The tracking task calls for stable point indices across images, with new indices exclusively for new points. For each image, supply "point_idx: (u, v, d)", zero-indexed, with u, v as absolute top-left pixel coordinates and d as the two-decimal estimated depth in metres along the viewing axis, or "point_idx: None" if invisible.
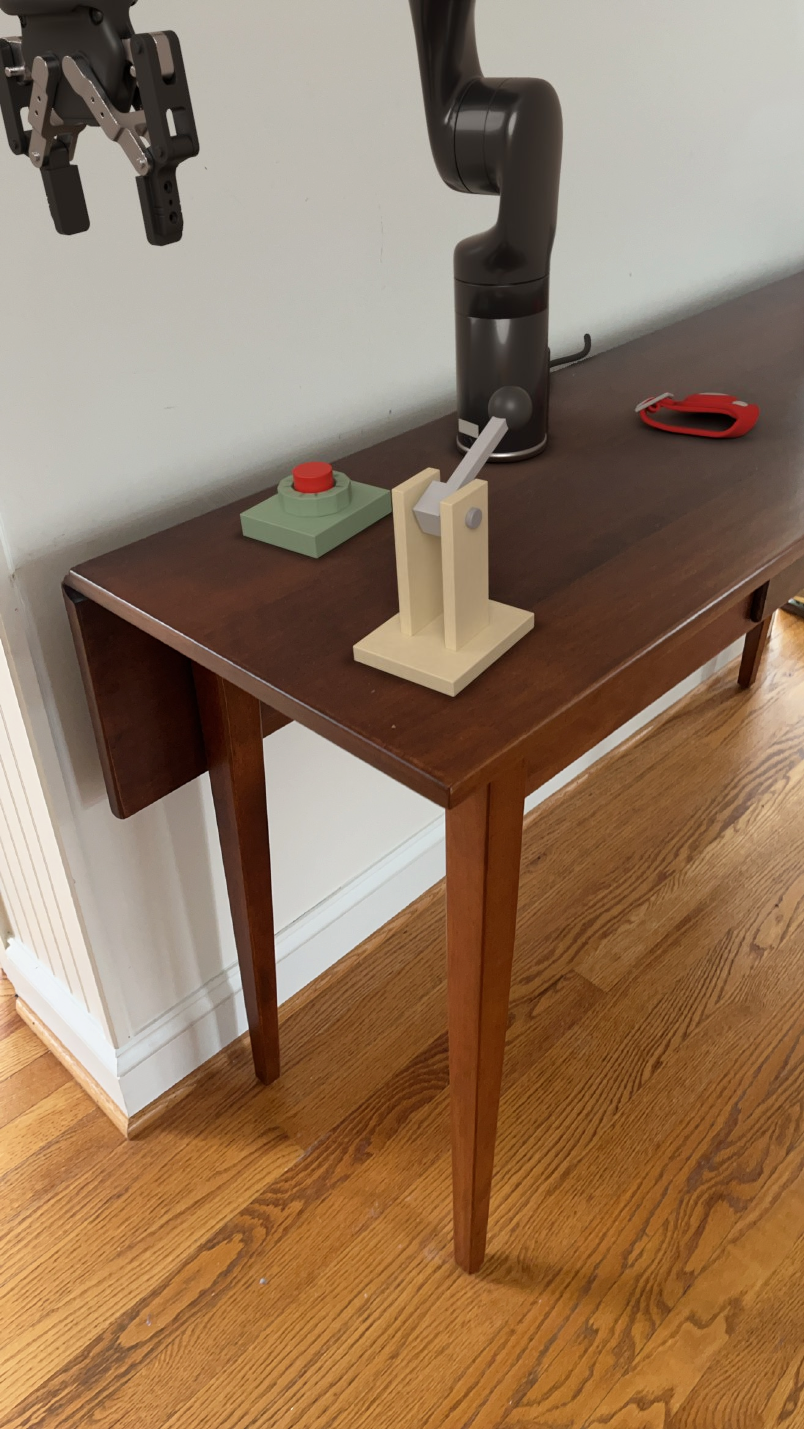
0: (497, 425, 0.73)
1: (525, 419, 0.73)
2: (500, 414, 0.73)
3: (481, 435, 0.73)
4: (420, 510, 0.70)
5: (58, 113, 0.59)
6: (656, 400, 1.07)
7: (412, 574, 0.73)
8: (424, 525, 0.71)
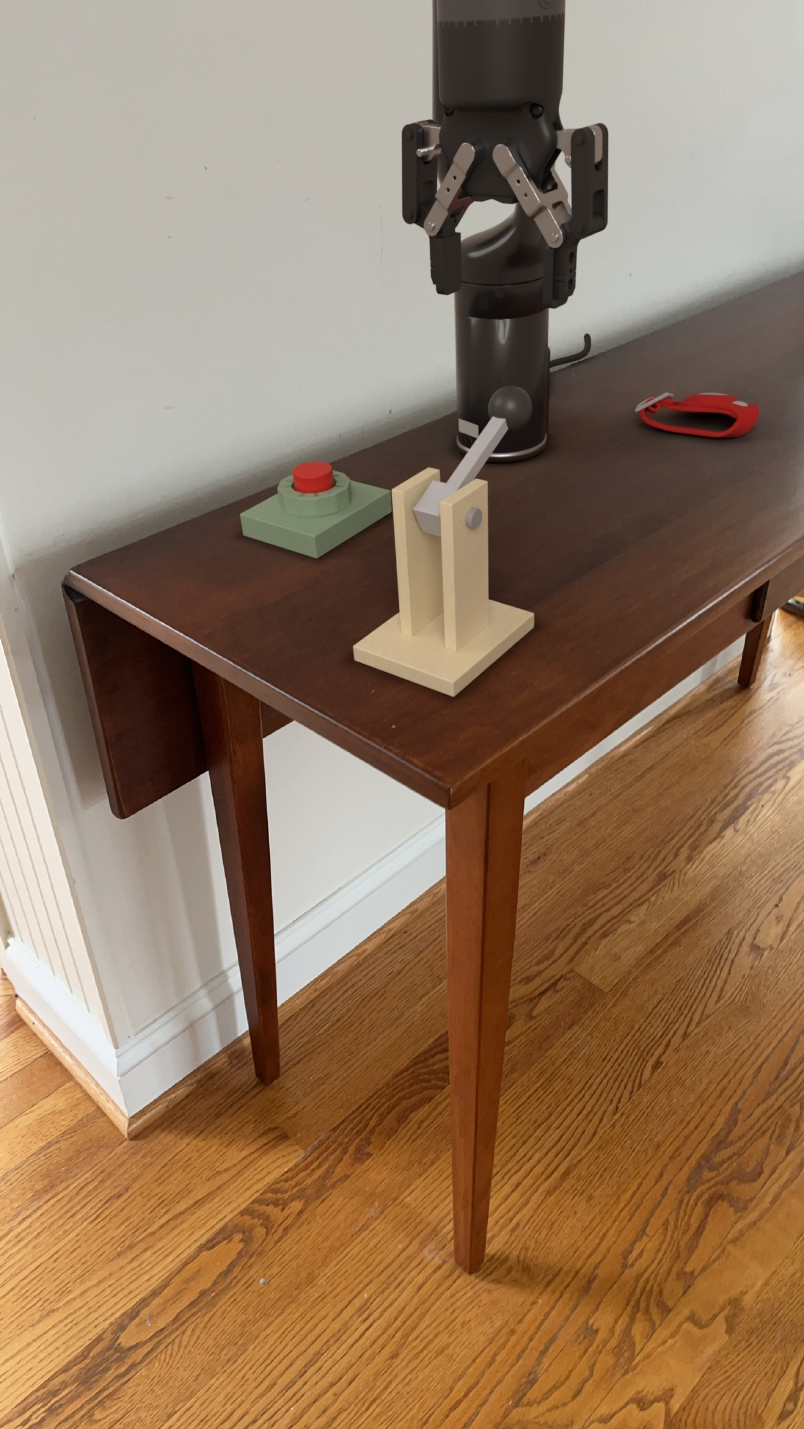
0: (497, 425, 0.73)
1: (525, 419, 0.73)
2: (500, 414, 0.73)
3: (481, 435, 0.73)
4: (420, 510, 0.70)
5: (468, 190, 0.66)
6: (656, 400, 1.07)
7: (412, 574, 0.73)
8: (424, 525, 0.71)
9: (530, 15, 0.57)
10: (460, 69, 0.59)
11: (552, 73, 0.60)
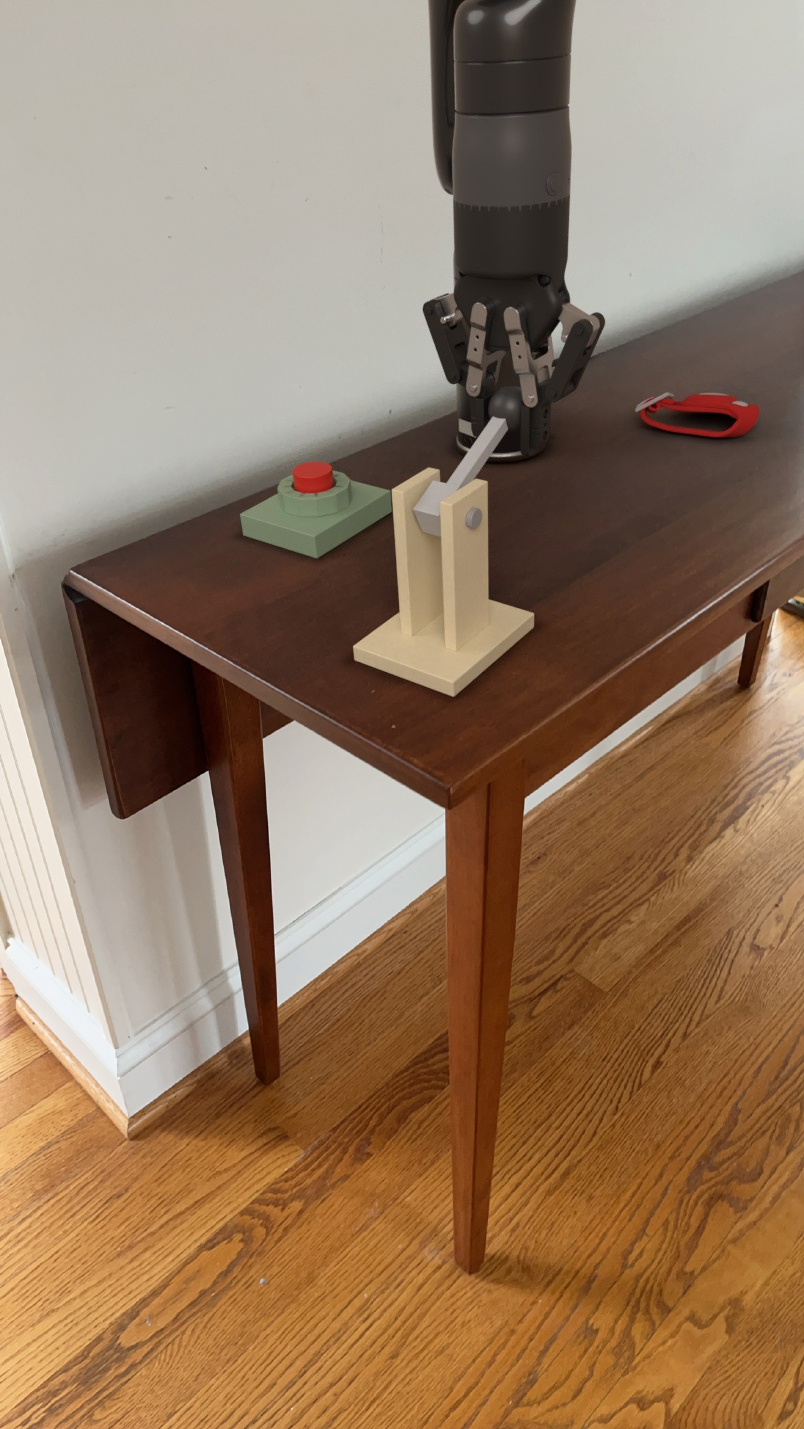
0: (497, 425, 0.73)
1: None
2: (500, 414, 0.73)
3: (481, 435, 0.73)
4: (420, 510, 0.70)
5: (493, 343, 0.71)
6: (656, 400, 1.07)
7: (412, 574, 0.73)
8: (424, 525, 0.71)
9: (539, 202, 0.63)
10: (475, 245, 0.65)
11: (558, 248, 0.65)
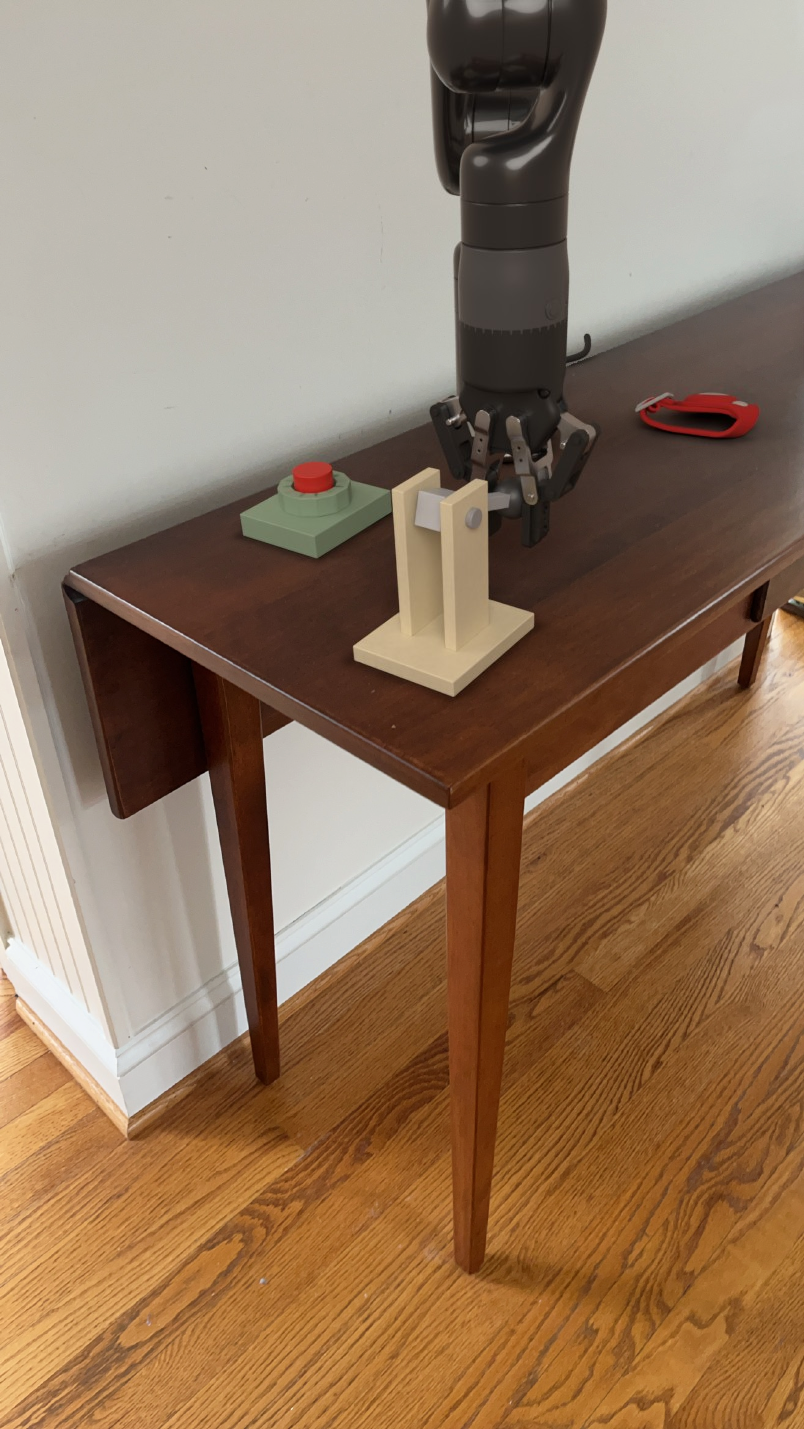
0: (502, 494, 0.77)
1: None
2: (507, 490, 0.77)
3: None
4: (426, 492, 0.70)
5: (496, 445, 0.76)
6: (656, 400, 1.07)
7: (412, 574, 0.73)
8: (421, 514, 0.70)
9: (539, 326, 0.68)
10: (479, 362, 0.70)
11: (557, 364, 0.70)
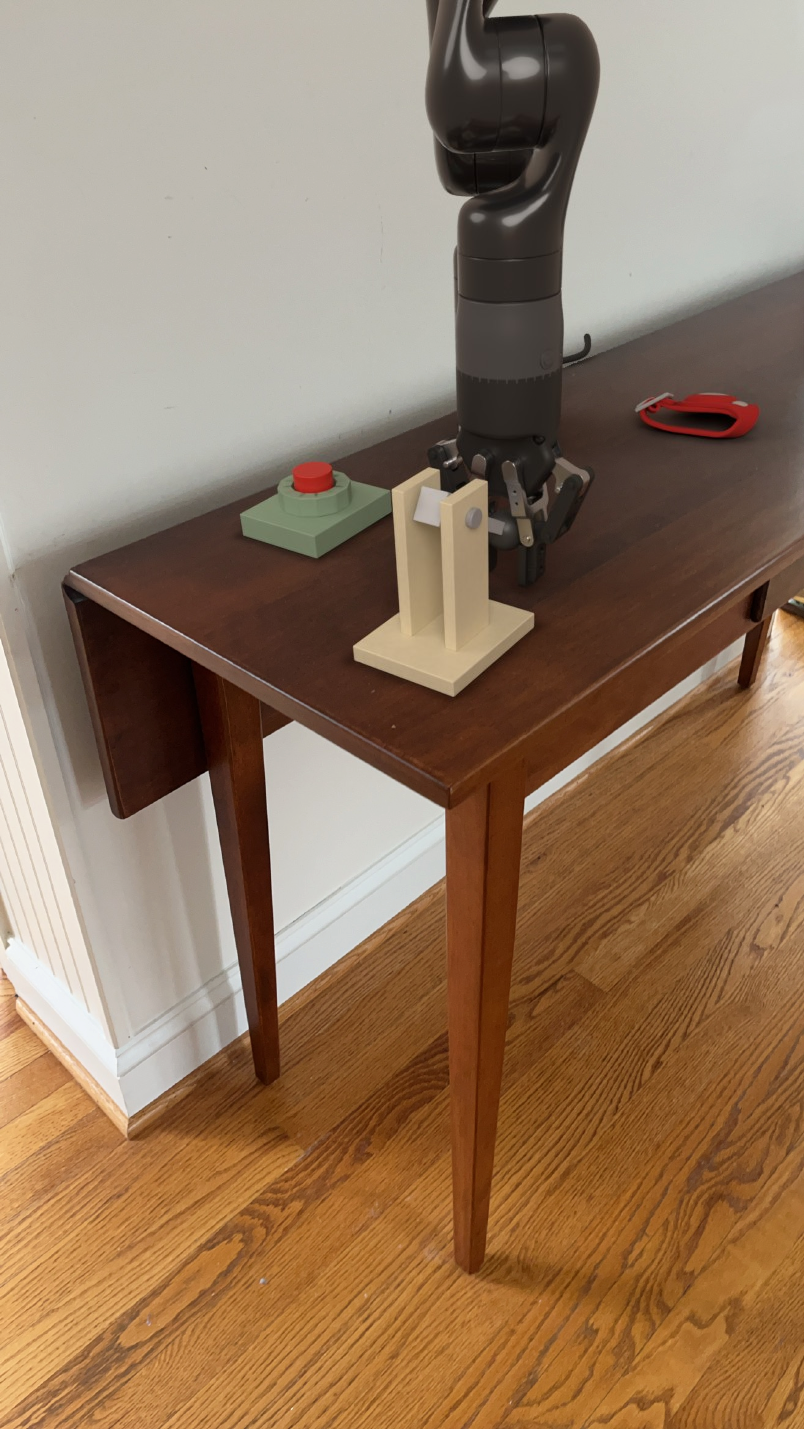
0: (498, 520, 0.77)
1: (518, 536, 0.78)
2: (502, 518, 0.78)
3: None
4: None
5: (491, 488, 0.77)
6: (656, 400, 1.07)
7: (412, 574, 0.73)
8: (421, 509, 0.70)
9: (534, 375, 0.69)
10: (475, 410, 0.71)
11: (552, 412, 0.72)
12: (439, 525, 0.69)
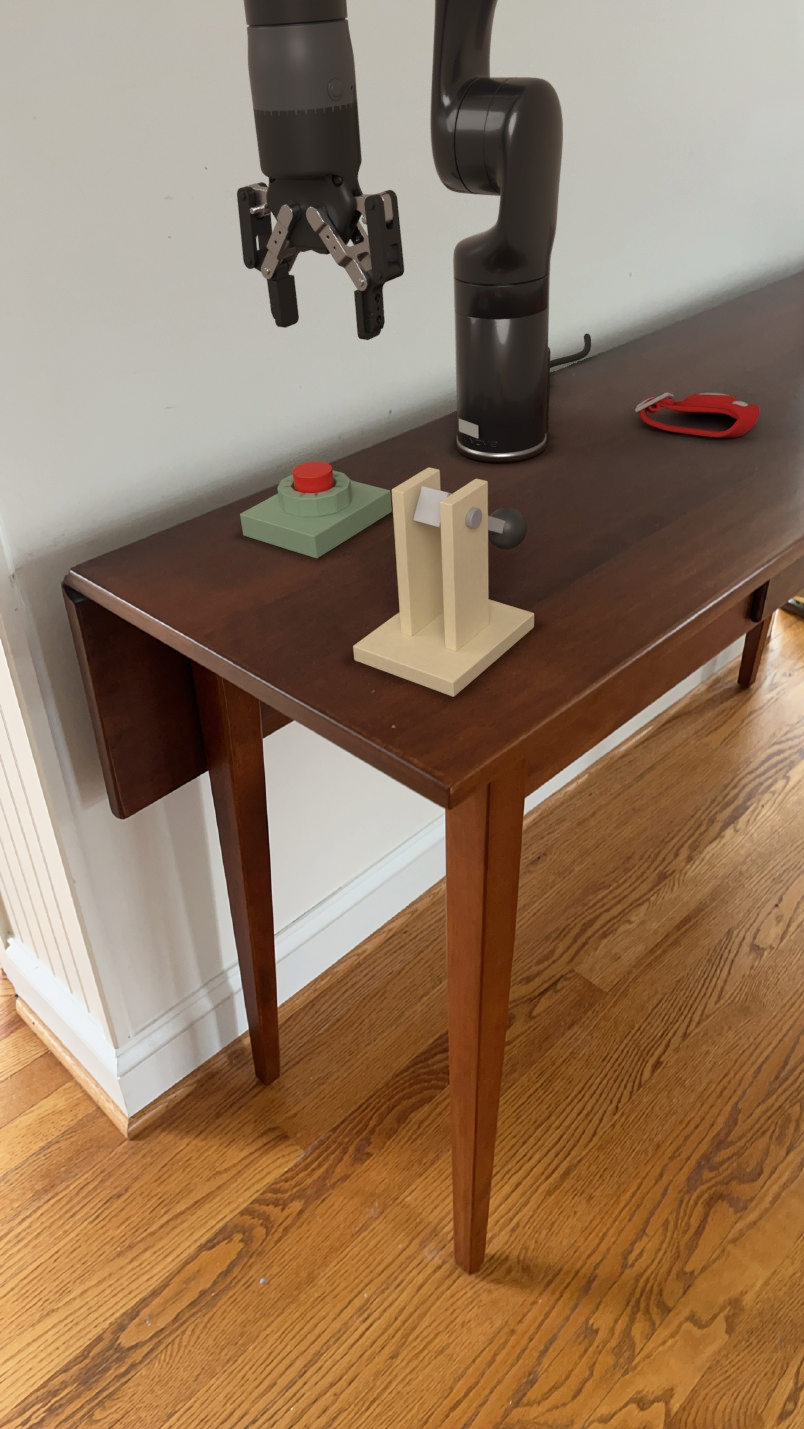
0: (498, 518, 0.77)
1: (519, 535, 0.78)
2: (502, 516, 0.78)
3: None
4: (429, 488, 0.70)
5: (292, 242, 0.79)
6: (656, 400, 1.07)
7: (412, 574, 0.73)
8: (421, 509, 0.70)
9: (322, 106, 0.70)
10: (271, 148, 0.73)
11: (347, 150, 0.73)
12: (439, 525, 0.69)
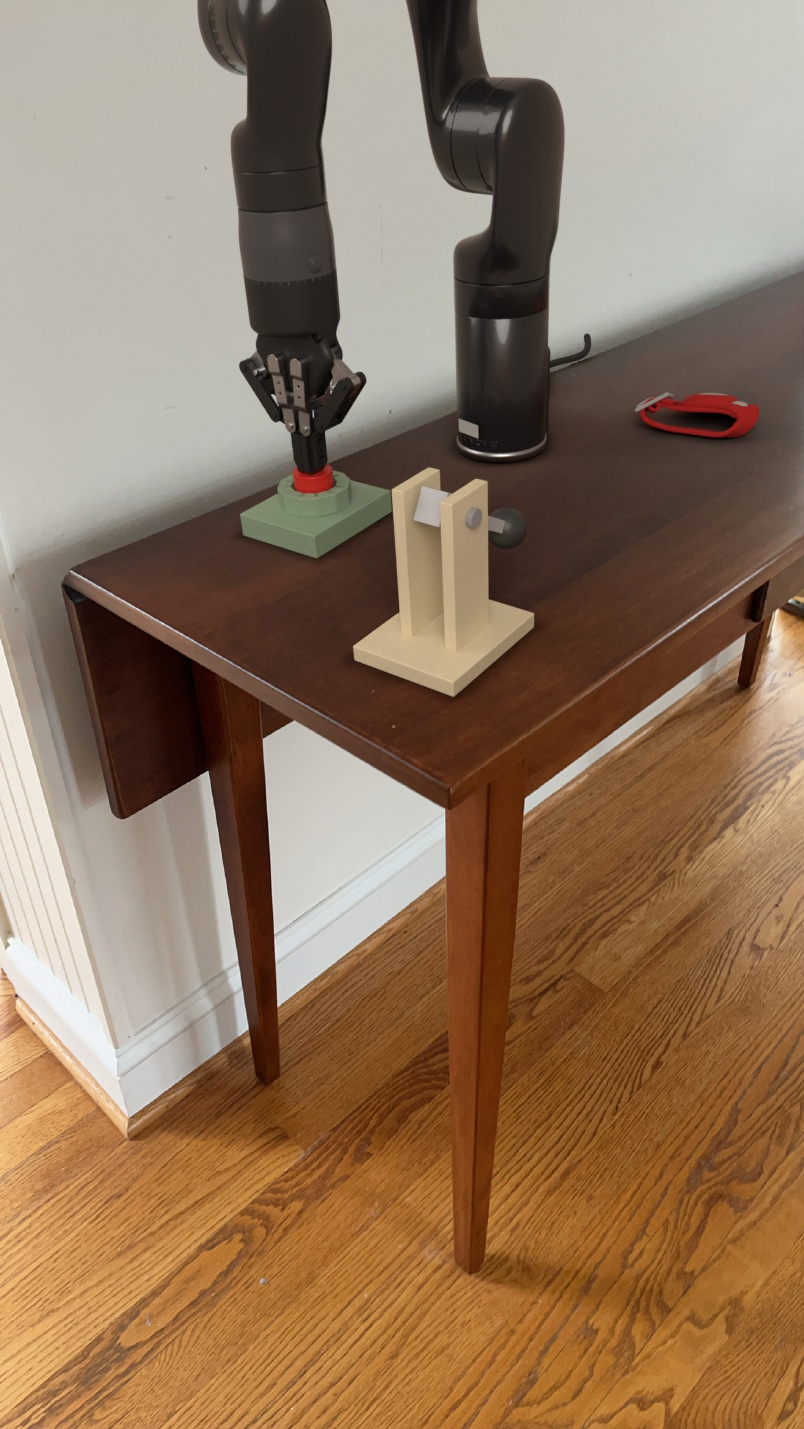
0: (498, 518, 0.77)
1: (519, 535, 0.78)
2: (502, 516, 0.78)
3: None
4: (429, 488, 0.70)
5: (292, 384, 0.87)
6: (656, 400, 1.07)
7: (412, 574, 0.73)
8: (421, 509, 0.70)
9: (304, 278, 0.79)
10: (258, 311, 0.81)
11: (326, 313, 0.82)
12: (439, 525, 0.69)
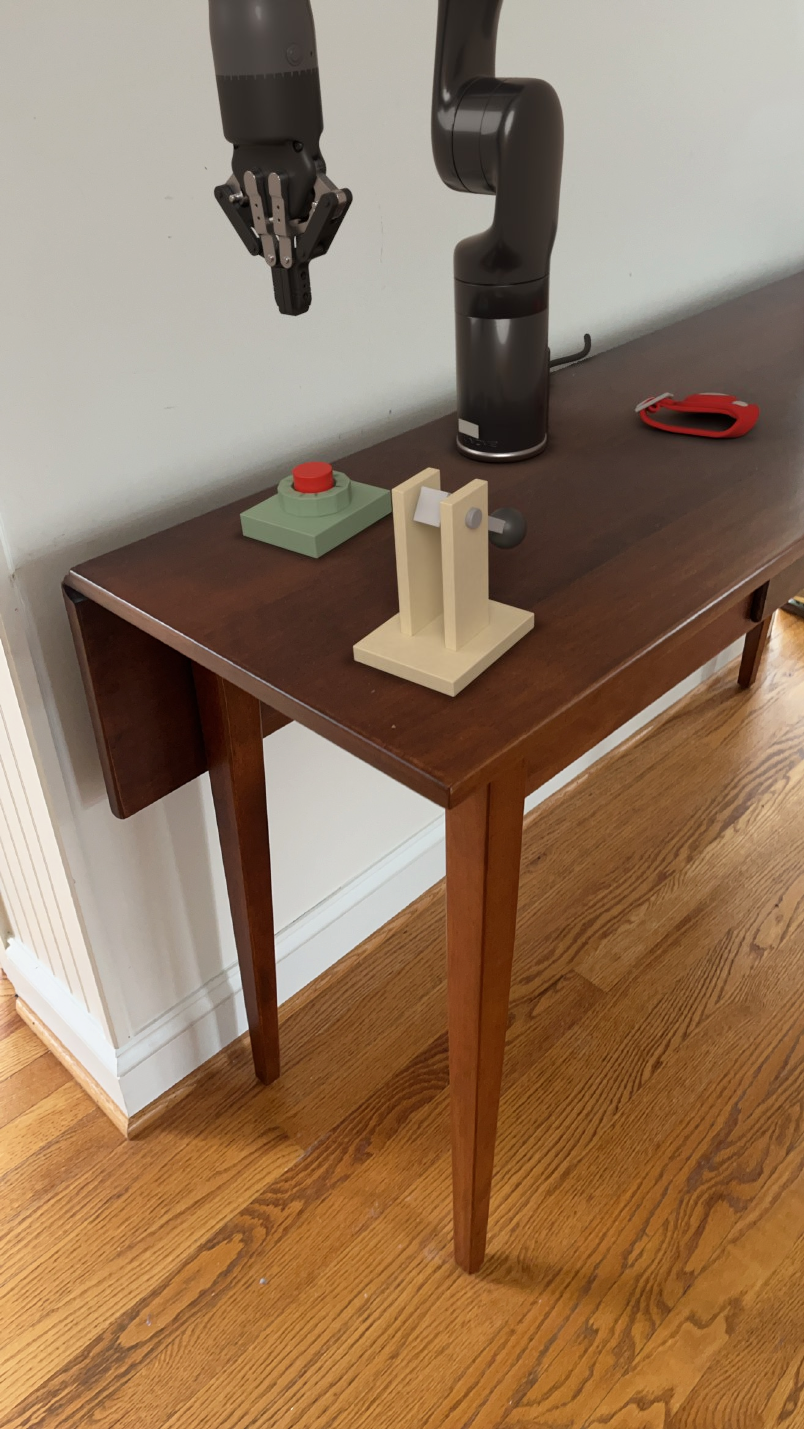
0: (498, 518, 0.77)
1: (519, 535, 0.78)
2: (502, 516, 0.78)
3: None
4: (429, 488, 0.70)
5: (271, 207, 0.79)
6: (656, 400, 1.07)
7: (412, 574, 0.73)
8: (421, 509, 0.70)
9: (281, 71, 0.71)
10: (232, 113, 0.73)
11: (307, 116, 0.74)
12: (439, 525, 0.69)
